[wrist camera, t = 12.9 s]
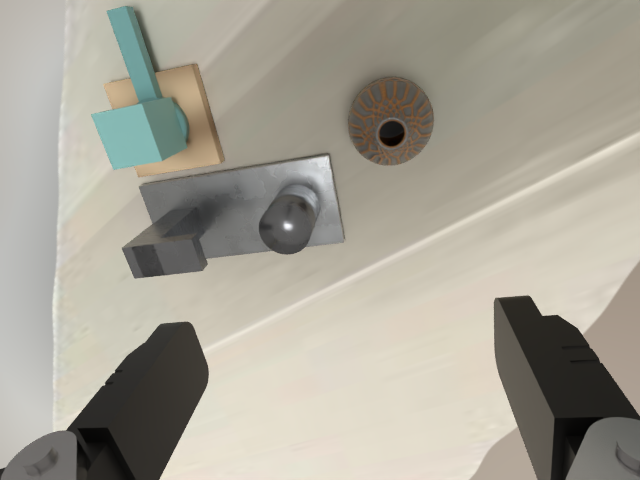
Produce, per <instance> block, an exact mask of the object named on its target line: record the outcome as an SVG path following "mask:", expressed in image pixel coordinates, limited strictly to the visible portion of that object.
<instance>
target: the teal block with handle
mask: <svg viewBox="0 0 640 480" xmlns="http://www.w3.org/2000/svg"><path fill="white" fill-rule="evenodd" d="M107 14H108V16H109V19H110V22H111V25H112V28H113V30H114V33H115V36H116V39H117V42H118V44H119V47H120V50H121V53H122V56H123V58H124V61H125V64H126V67H127V70H128V72H129V75H130V78H131V81H132V84H133V87H134V89H135V92H136V95H137V98H138V101H139V102H138V103H137V104H135V105H130V106H126V107H121V108H117V109H113V110H108V111H104V112H100V113H95V114H91V116H92V118H93V120H94V123H95V125H96V128H97V130H98V133H99V135H100V138H101V140H102V143H103V145H104V148H105V150H106V153H107V155H108V157H109V160H110V162H111V165H112V167H113V170H115V169H121V168H126V167H132V166H137V165H143V164H149V163H154V162H160V161H163V160H165V159H167V158H169V157H171V156H173V155H175V154H177V153H179V152H181V151H182V150H184V149H186V148H187V144H186V142H187V140H188V137H189V122H188V119H187V116H186V114H185V113H184V111H183V110H182V108H181V107H180V106H179V105H178V104H177V103H175V102H174V101H172V98H171V97H168V98H165V97H162V94H161V91H160V88H159V85H158V82H157V79H156V76H155V73H154V70H153V67H152V64H151V61H150V58H149V55H148V52H147V49H146V46H145V43H144V40H143V37H142V34H141V30H140V27H139V24H138V21H137V18H136V15H135V12H134V9H133V7H129V6H124V7H120V8H116V9H112V10H109V11H107Z"/></svg>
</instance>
